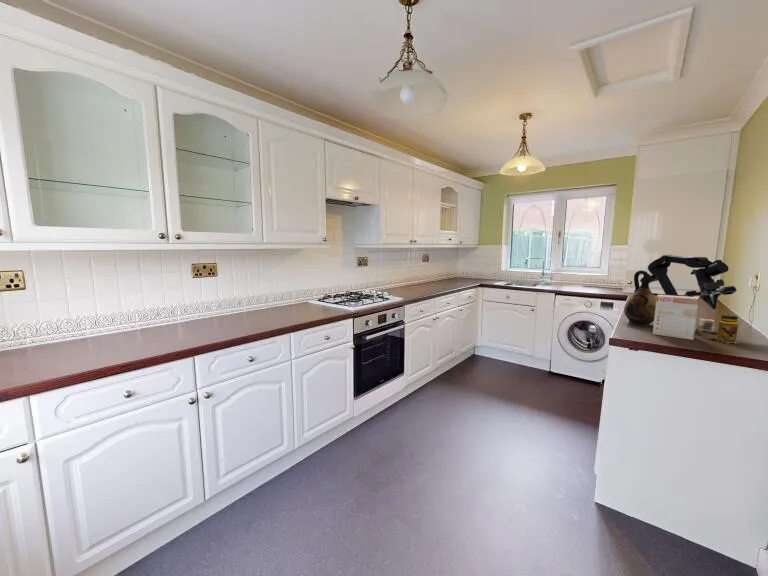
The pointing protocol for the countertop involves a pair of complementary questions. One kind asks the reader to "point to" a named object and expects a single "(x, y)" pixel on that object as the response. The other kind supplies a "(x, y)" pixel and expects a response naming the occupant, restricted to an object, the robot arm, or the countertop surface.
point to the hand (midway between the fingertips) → (714, 309)
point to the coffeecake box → (675, 316)
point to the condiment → (727, 329)
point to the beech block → (706, 325)
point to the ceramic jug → (641, 301)
